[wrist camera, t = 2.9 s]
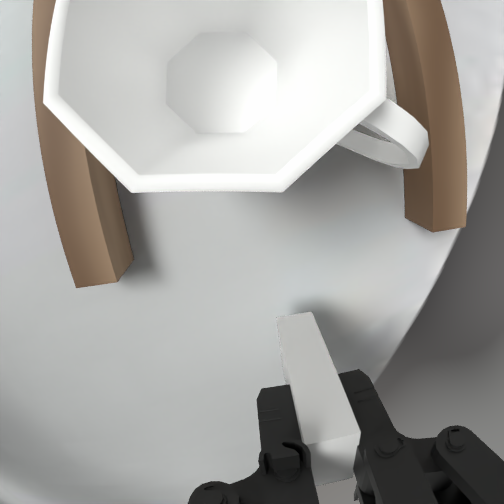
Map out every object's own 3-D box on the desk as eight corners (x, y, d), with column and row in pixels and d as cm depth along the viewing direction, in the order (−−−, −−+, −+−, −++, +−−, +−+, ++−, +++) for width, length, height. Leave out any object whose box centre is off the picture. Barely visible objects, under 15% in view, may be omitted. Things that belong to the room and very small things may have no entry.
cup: (183, -5, 10) (142, -118, 3) (387, 86, 12) (518, 60, 5) (115, 134, 12) (-6, 140, 5) (325, 221, 14) (417, 310, 7)
